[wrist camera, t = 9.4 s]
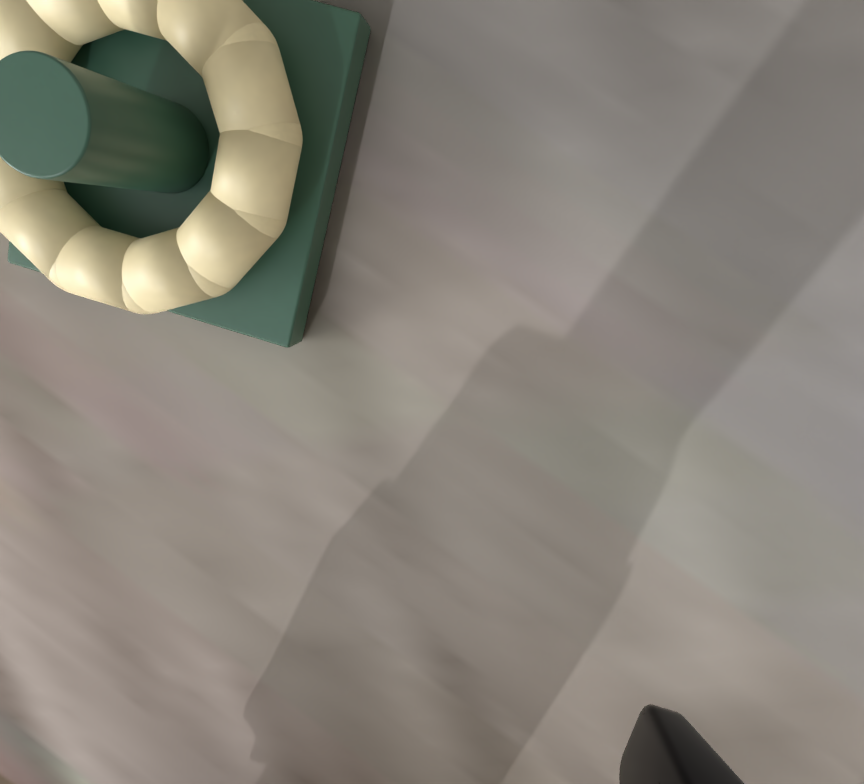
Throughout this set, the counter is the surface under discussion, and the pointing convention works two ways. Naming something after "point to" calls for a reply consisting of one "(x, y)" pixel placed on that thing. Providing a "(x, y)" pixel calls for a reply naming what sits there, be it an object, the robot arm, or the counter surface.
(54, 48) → the ring
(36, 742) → the counter surface
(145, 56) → the stand
